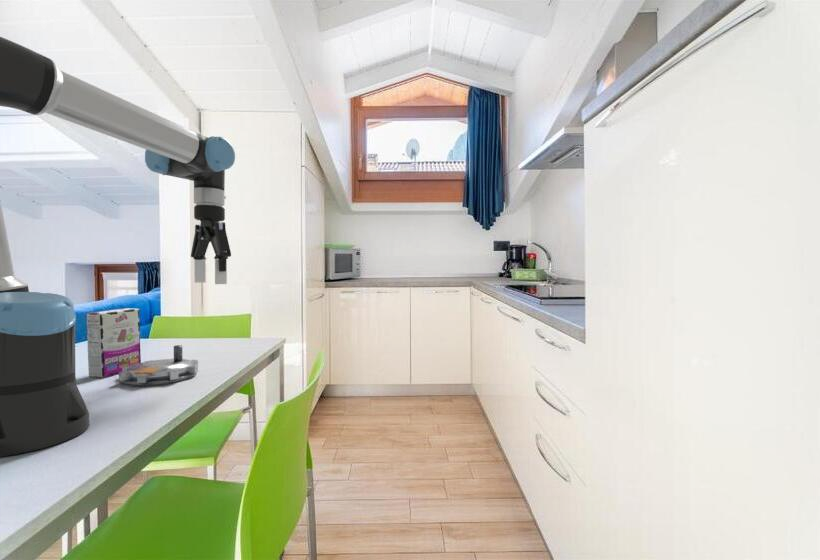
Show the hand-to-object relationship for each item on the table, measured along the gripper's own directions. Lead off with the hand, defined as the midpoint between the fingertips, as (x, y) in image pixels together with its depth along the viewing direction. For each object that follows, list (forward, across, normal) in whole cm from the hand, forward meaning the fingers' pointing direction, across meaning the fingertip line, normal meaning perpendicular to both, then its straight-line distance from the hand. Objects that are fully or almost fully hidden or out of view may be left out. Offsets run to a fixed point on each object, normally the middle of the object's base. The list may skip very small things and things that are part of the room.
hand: (210, 283), depth 110 cm
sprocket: (+23, -1, +12) cm, 26 cm away
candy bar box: (+24, +13, +19) cm, 33 cm away
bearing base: (+23, -1, +12) cm, 26 cm away
